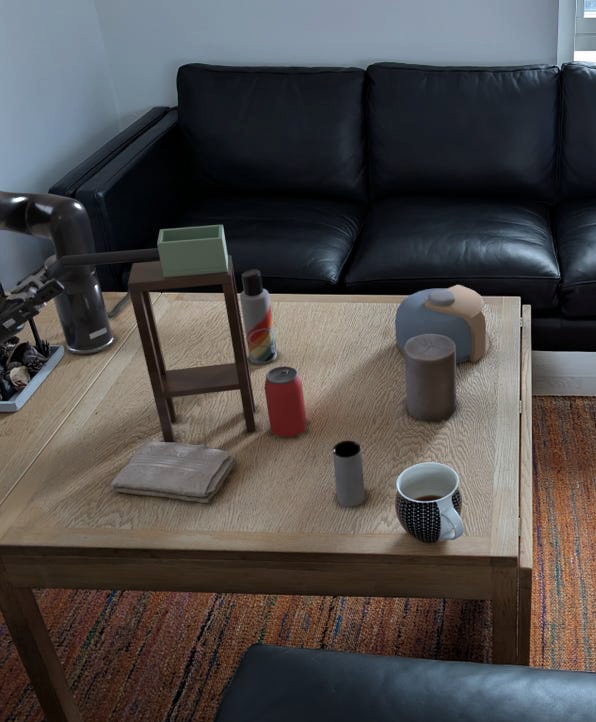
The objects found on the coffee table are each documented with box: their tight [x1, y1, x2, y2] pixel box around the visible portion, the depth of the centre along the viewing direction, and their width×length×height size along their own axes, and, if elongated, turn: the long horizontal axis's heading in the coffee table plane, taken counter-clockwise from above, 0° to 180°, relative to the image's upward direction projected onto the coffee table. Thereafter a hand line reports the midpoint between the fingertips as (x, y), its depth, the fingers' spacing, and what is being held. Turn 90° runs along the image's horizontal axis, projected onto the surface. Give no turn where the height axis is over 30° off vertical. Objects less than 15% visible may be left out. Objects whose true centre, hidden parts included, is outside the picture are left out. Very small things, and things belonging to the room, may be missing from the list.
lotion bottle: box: [239, 268, 278, 365], centre depth 170 cm, size 6×6×20 cm
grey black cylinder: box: [332, 439, 366, 508], centre depth 135 cm, size 4×4×10 cm
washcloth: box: [110, 440, 237, 504], centre depth 141 cm, size 12×18×3 cm, turn 82°
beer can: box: [264, 365, 308, 439], centre depth 151 cm, size 7×7×12 cm
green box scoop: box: [62, 224, 229, 278], centre depth 135 cm, size 6×25×6 cm, turn 104°
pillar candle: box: [403, 334, 457, 422], centre depth 157 cm, size 10×10×15 cm
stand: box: [127, 254, 257, 443], centre depth 146 cm, size 8×16×32 cm, turn 104°
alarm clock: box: [394, 284, 490, 364], centre depth 178 cm, size 19×20×12 cm
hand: (65, 272), depth 134 cm, fingers open, 8 cm apart
